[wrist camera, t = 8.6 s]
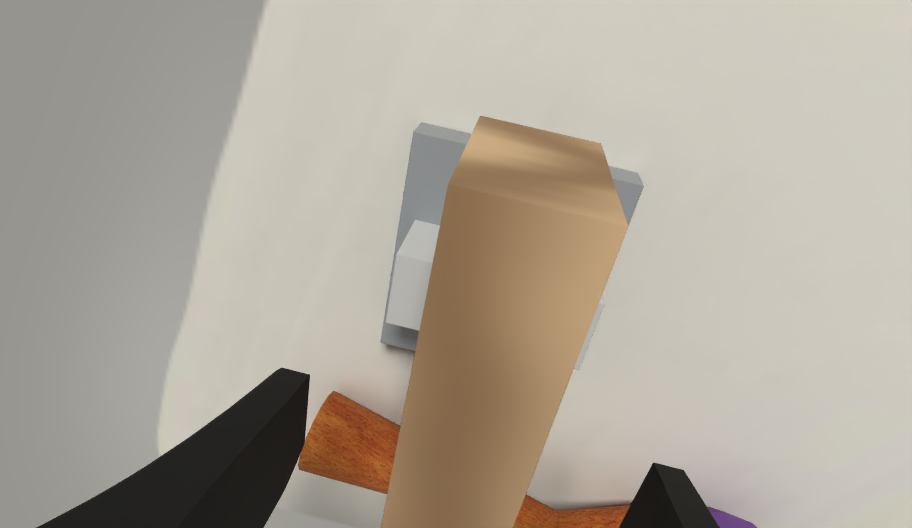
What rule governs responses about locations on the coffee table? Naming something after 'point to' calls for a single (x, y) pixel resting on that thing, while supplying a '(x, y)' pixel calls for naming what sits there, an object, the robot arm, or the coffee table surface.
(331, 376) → the coffee table surface
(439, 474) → the oak bar
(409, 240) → the balance stand
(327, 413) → the kendama
